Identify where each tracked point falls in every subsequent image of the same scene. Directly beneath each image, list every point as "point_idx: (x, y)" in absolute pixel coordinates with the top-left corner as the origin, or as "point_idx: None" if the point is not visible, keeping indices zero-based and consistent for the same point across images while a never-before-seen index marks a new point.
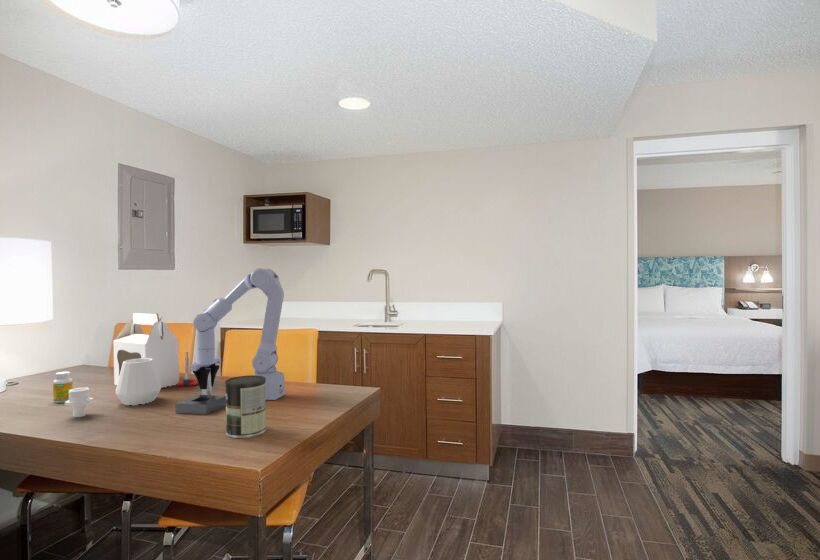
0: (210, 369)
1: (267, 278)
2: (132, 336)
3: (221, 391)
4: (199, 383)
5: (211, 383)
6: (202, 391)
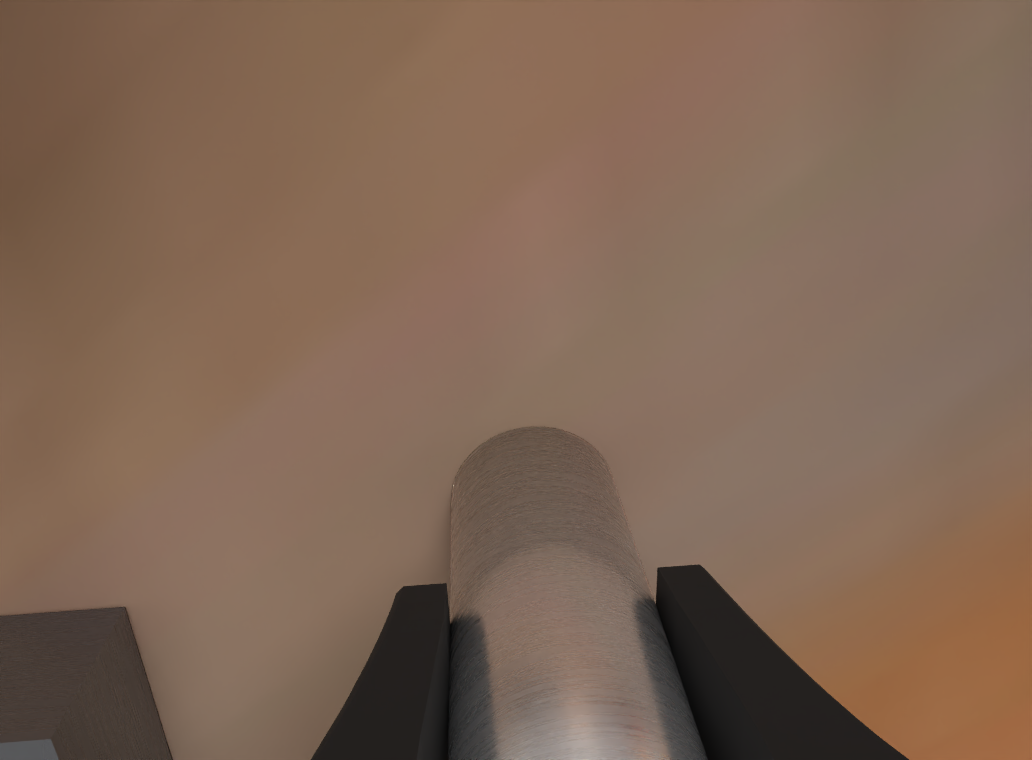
0: None
1: None
2: None
3: (1021, 449)
4: (364, 701)
5: None
6: (458, 558)
